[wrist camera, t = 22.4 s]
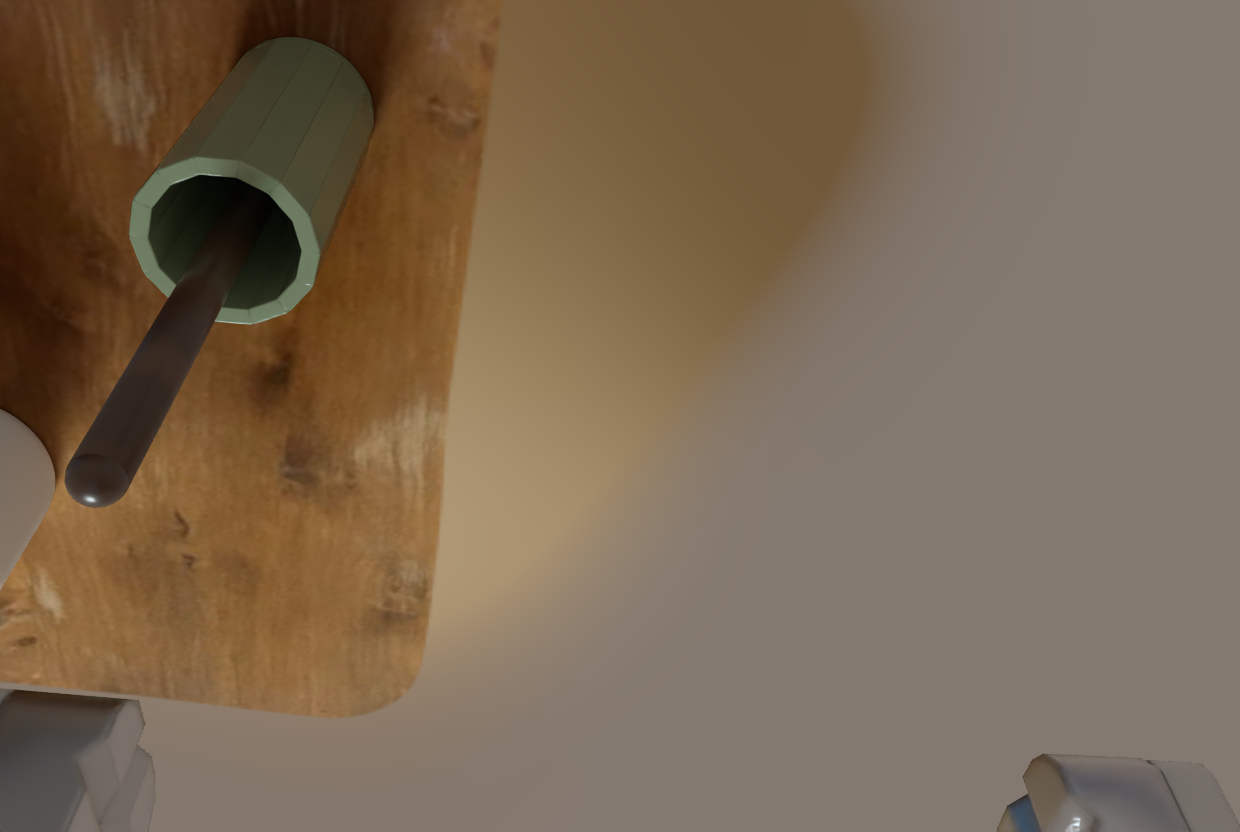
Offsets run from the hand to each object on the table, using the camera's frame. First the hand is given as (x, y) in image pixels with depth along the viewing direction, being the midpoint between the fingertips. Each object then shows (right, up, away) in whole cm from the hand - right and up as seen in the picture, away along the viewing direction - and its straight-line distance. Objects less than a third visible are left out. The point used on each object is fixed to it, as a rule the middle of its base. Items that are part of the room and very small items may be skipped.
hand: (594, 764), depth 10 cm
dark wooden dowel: (-13, +15, +35) cm, 40 cm away
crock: (-13, +16, +35) cm, 40 cm away
